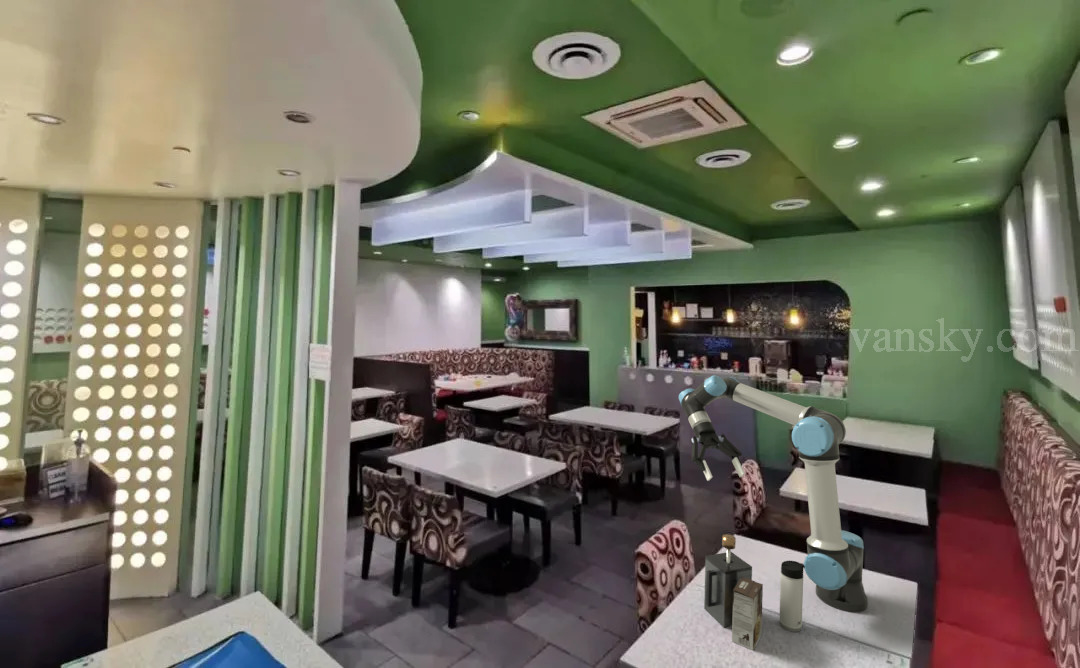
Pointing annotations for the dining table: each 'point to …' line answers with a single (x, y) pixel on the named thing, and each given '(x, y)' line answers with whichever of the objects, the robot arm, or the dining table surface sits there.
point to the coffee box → (747, 613)
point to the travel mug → (791, 595)
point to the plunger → (728, 545)
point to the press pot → (723, 585)
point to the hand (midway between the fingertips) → (726, 477)
